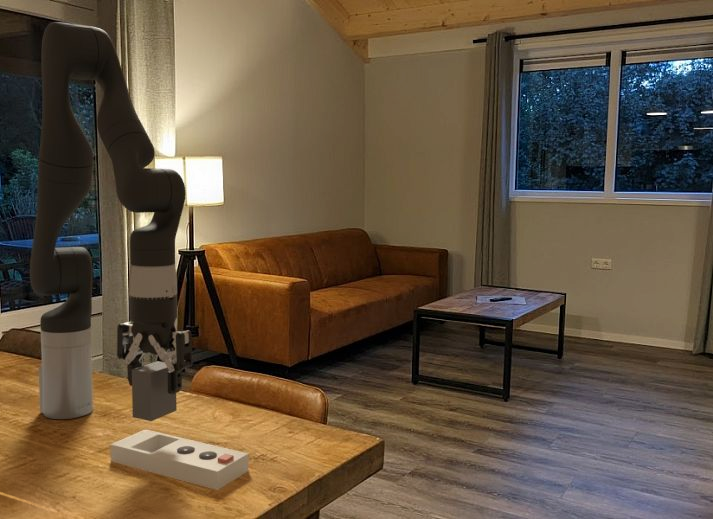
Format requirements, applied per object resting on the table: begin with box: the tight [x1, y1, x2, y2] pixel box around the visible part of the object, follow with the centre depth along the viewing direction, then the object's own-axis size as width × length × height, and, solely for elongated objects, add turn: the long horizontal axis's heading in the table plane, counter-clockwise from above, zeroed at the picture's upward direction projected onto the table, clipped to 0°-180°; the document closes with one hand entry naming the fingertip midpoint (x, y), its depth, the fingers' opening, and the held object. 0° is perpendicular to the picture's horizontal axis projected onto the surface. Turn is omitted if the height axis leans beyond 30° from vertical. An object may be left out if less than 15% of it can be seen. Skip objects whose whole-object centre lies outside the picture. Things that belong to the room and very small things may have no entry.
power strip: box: [110, 429, 249, 491], centre depth 114 cm, size 23×8×4 cm, turn 64°
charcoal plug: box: [131, 360, 178, 422], centre depth 115 cm, size 4×6×8 cm, turn 153°
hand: (154, 388), depth 115 cm, fingers open, 8 cm apart
